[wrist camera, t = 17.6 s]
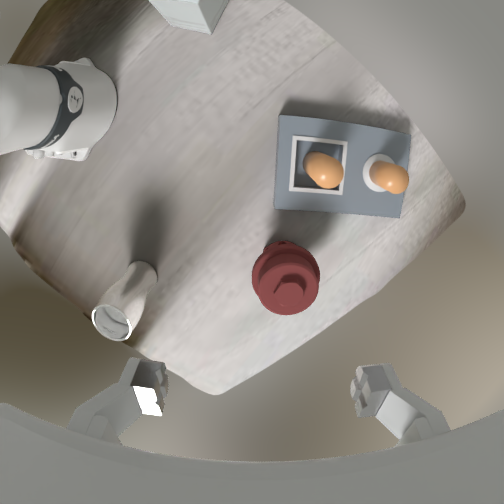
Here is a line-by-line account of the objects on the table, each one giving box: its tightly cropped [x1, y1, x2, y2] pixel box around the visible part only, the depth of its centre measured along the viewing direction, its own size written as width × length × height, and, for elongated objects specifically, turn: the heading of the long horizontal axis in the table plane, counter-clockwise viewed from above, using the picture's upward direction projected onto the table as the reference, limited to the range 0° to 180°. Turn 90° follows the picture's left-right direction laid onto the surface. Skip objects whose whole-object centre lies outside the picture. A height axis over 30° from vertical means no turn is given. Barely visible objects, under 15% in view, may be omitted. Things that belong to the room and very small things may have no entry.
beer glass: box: [92, 261, 157, 341], centre depth 45 cm, size 7×7×15 cm
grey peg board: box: [273, 115, 411, 218], centre depth 39 cm, size 21×14×9 cm, turn 88°
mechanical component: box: [252, 241, 320, 315], centre depth 44 cm, size 12×10×10 cm
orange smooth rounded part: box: [302, 151, 344, 189], centre depth 38 cm, size 4×4×9 cm
